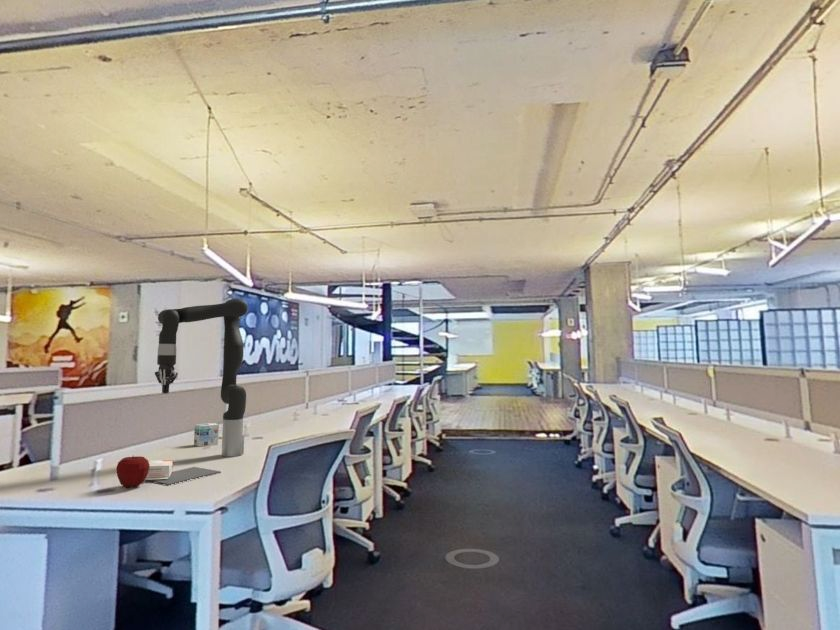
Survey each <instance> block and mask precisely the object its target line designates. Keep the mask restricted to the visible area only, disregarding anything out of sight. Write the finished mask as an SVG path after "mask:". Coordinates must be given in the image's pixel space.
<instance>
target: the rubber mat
mask: <svg viewBox="0 0 840 630" xmlns="http://www.w3.org/2000/svg"><path fill="white" fill-rule="evenodd" d="M217 473H218V474H221V473H222V472H221V470H215V469H210V468H203V467H196V466H193V467H188V468H183V469H179V470H172V473H171V475H170V477H169V478H168V479H156V480H146V481H145V482H148V481H152V482H151V483H153V482H157V483H156V484H158V483H162V484H161V485H163V484H166V485H165V486H168V485H170V486H172V485H171V484H174V485H176V484H175V483H178V484H180V483H179V482H182V483H184V482H183V481H186V482H188V481H187V480H190V479H194V480H196V479H195V478H198V479H200V478H199V477H202V478H204V477H203V476H206V477H209V476H208V475H210V476H214V475H217ZM213 474H214V475H213ZM190 481H191V480H190Z"/></svg>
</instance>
